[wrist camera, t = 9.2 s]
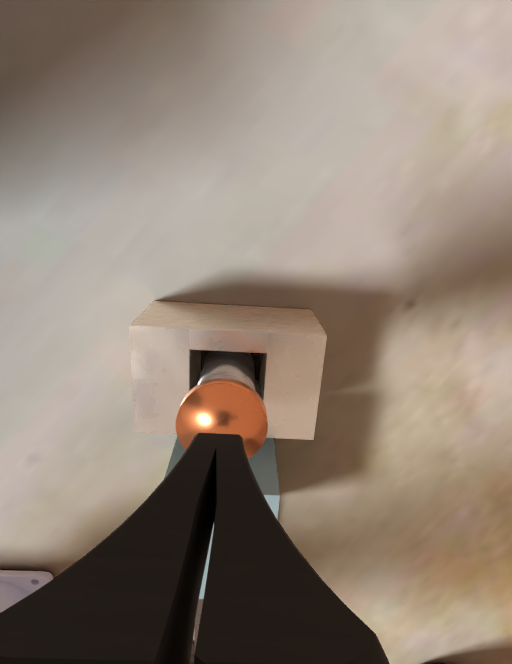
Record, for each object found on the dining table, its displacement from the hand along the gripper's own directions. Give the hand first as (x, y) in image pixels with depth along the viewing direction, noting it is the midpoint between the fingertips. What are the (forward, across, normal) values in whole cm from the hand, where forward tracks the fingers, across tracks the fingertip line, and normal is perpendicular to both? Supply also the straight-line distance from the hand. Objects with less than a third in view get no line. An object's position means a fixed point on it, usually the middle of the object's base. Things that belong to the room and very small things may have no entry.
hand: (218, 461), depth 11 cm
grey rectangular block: (+9, 0, 0) cm, 9 cm away
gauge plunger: (+7, 0, 0) cm, 7 cm away
